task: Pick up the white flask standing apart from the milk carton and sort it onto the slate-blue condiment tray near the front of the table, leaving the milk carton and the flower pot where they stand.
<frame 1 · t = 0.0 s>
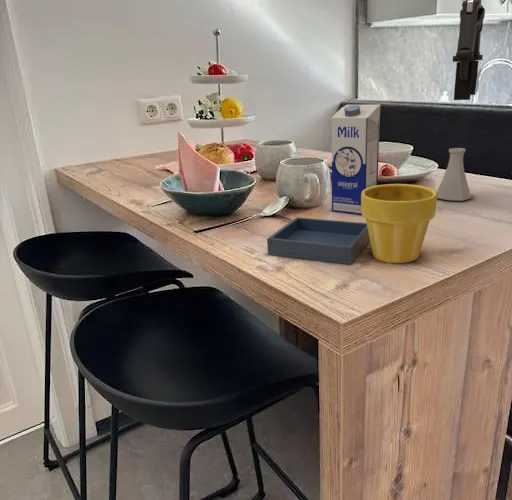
hand: (465, 97, 97), 20 cm above the table, tool pointing down, fingers open, 13 cm apart
flask: (452, 198, 104), on the table
tray: (321, 246, 80), on the table
milk carton: (354, 209, 100), on the table
flower pot: (395, 257, 74), on the table
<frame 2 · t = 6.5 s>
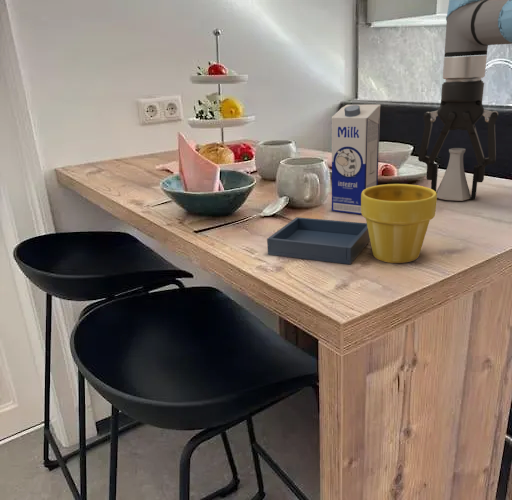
hand: (452, 196, 104), 0 cm above the table, tool pointing down, fingers closed on flask, 7 cm apart
flask: (452, 198, 104), on the table, touching gripper
everything else where it was.
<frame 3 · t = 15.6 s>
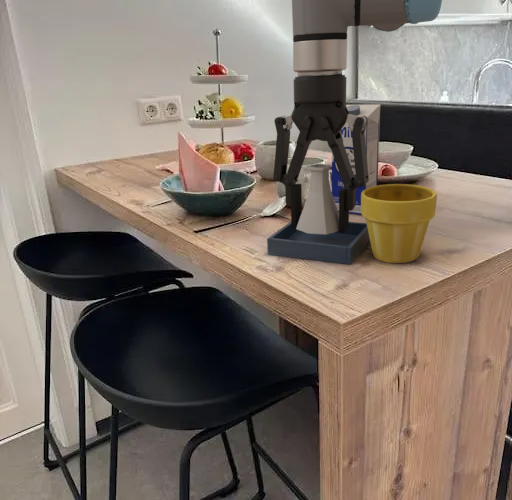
hand: (319, 227, 79), 3 cm above the table, tool pointing down, fingers closed on flask, 7 cm apart
flask: (319, 230, 79), point 3 cm above the table, touching gripper
flower pot: (395, 257, 74), on the table, touching gripper
everything else where it was.
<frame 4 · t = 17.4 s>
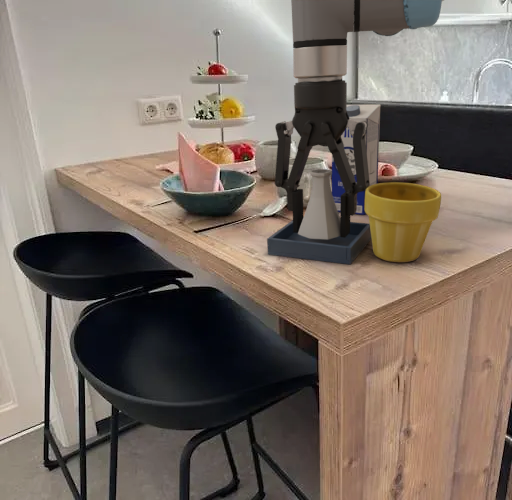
hand: (321, 232, 79), 2 cm above the table, tool pointing down, fingers closed on flask, 7 cm apart
flask: (321, 234, 79), point 2 cm above the table, touching gripper
everything else where it was.
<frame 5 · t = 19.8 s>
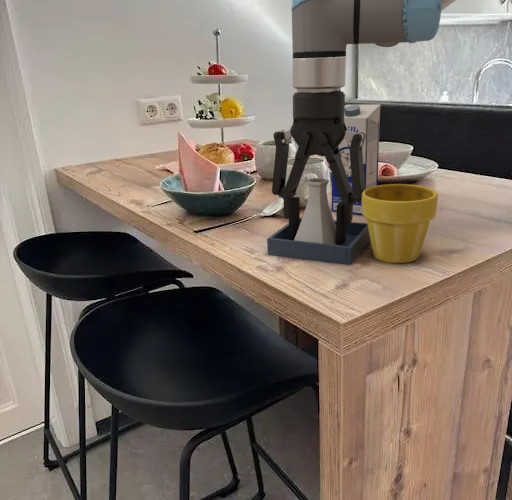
hand: (317, 240, 80), 1 cm above the table, tool pointing down, fingers closed on flask, 7 cm apart
flask: (317, 243, 80), resting in tray, touching gripper
flower pot: (395, 257, 74), on the table, touching gripper, hand
everything else where it was.
when the fingers open (2 cm above the table, at t = 25.4 s): flask drops 1 cm, resting on tray.
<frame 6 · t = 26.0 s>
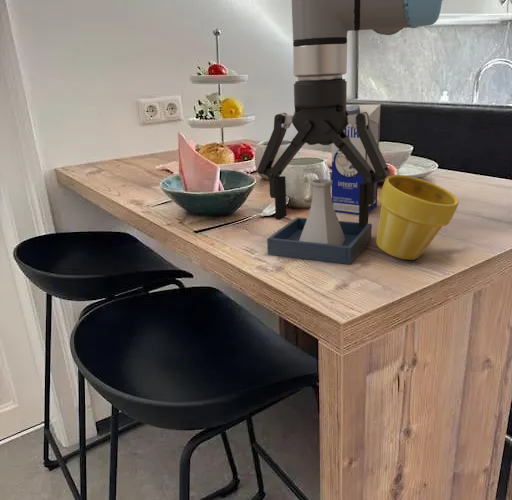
hand: (320, 221, 79), 4 cm above the table, tool pointing down, fingers open, 13 cm apart
flask: (322, 243, 80), resting on tray
flower pot: (397, 250, 74), point 1 cm above the table, touching gripper, hand
everything else where it was.
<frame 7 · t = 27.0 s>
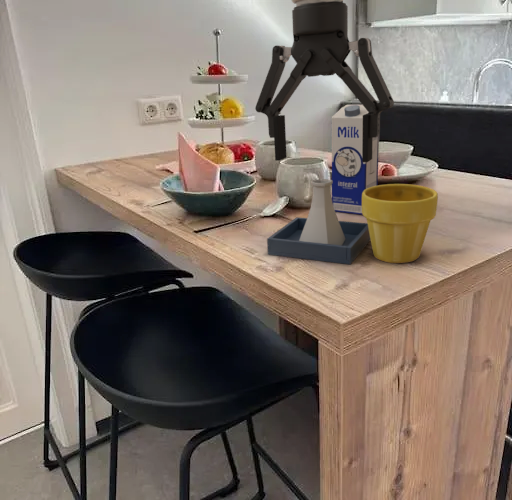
hand: (322, 160, 75), 14 cm above the table, tool pointing down, fingers open, 13 cm apart
flower pot: (395, 257, 75), on the table
everything else where it was.
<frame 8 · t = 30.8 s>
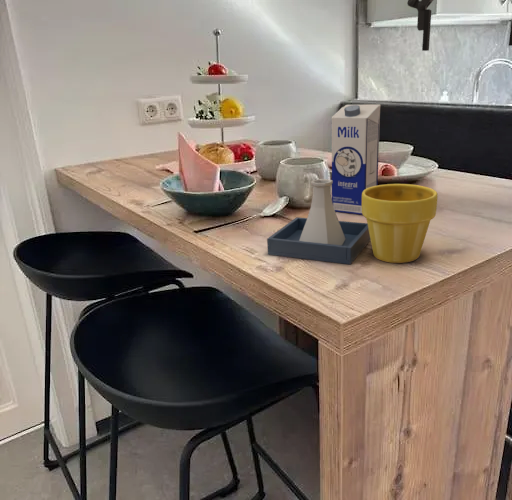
hand: (466, 48, 85), 29 cm above the table, tool pointing down, fingers open, 13 cm apart
nothing on the table moved.
at the end: flask 0.2 cm off-centre in the tray, point 0.4 cm above the tray's base; flask tilted 0°; milk carton moved 0.2 cm from its start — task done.
